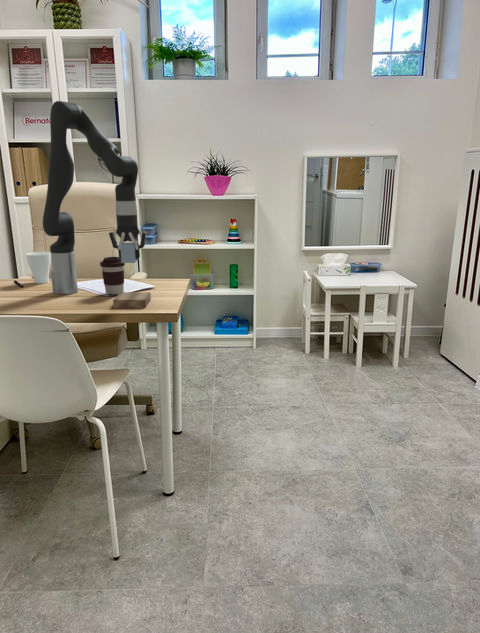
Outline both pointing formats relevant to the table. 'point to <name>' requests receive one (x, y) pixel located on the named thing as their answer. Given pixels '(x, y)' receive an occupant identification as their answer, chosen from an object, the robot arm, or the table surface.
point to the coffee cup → (113, 274)
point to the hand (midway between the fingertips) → (129, 259)
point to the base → (132, 299)
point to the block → (128, 252)
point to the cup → (39, 266)
